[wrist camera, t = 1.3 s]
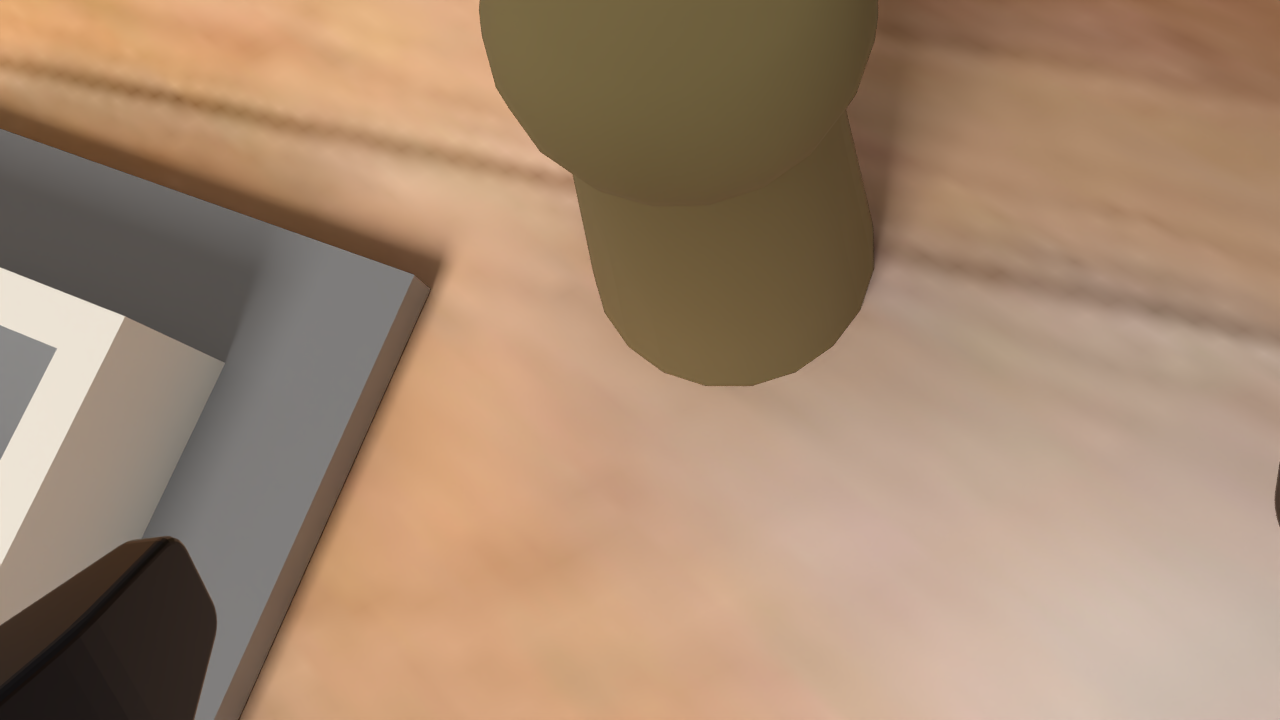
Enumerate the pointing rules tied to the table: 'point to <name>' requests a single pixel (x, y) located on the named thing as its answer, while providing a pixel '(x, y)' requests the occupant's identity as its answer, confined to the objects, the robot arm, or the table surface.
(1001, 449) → the table surface
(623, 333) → the pepper shaker
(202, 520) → the shaker caddy
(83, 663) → the robot arm
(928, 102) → the table surface
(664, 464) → the table surface
